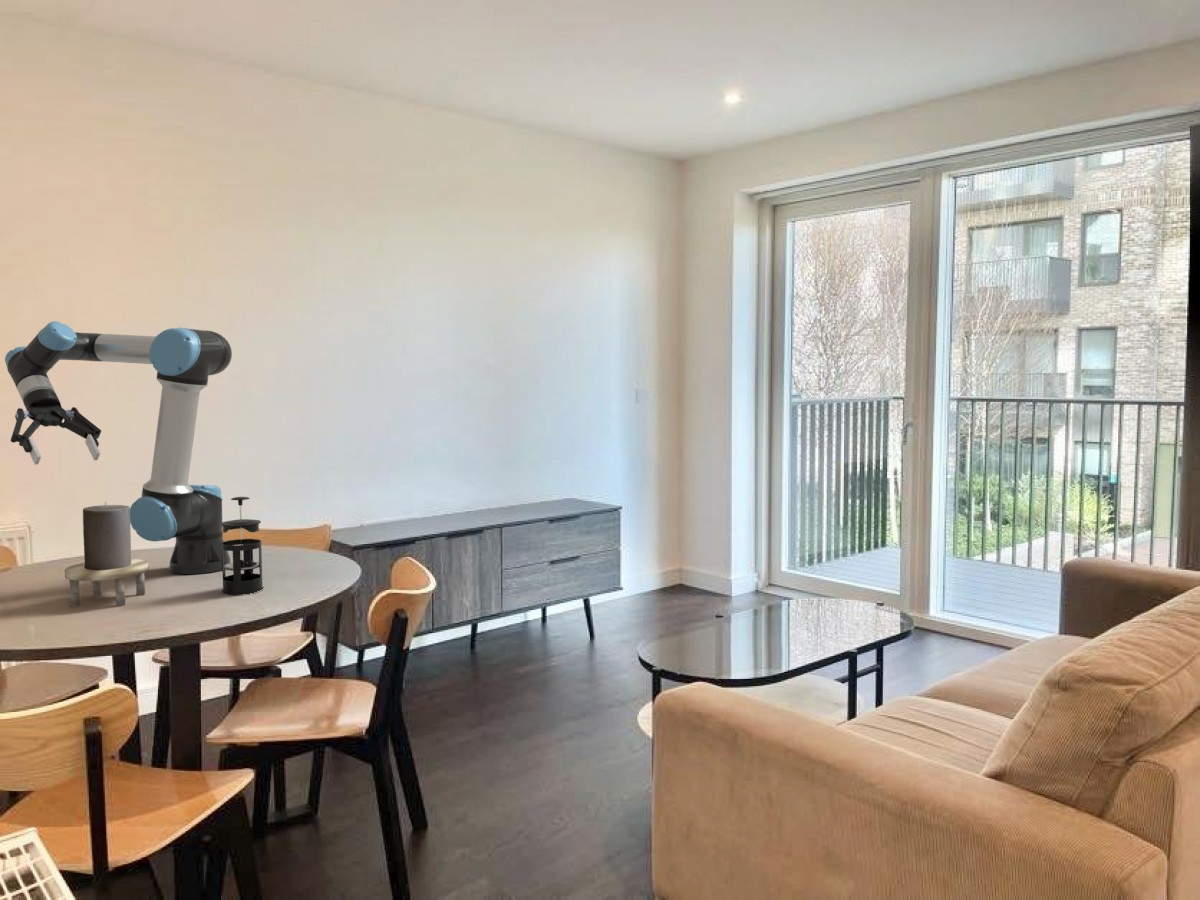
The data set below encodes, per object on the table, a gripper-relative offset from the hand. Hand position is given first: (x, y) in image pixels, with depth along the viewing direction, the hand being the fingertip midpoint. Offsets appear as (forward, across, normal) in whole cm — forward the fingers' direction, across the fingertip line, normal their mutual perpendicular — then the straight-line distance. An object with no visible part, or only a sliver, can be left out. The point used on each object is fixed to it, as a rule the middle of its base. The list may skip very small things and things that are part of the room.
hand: (68, 458), depth 216 cm
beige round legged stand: (+39, +2, -6) cm, 39 cm away
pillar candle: (+33, +2, -1) cm, 33 cm away
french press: (+50, -22, +5) cm, 55 cm away
